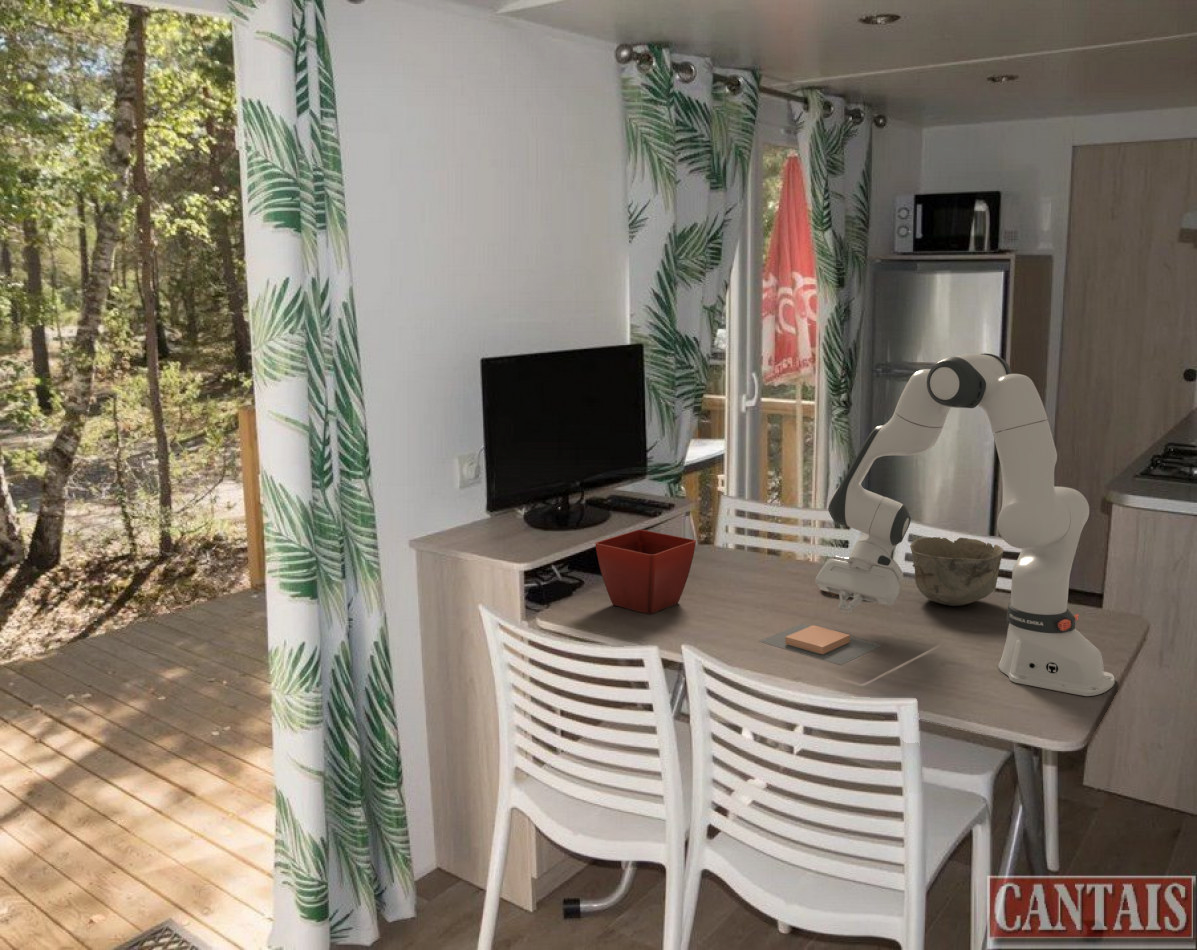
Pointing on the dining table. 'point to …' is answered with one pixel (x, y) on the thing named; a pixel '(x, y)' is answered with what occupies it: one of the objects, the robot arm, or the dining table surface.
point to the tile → (817, 639)
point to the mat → (835, 656)
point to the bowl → (955, 569)
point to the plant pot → (645, 569)
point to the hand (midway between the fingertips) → (843, 611)
